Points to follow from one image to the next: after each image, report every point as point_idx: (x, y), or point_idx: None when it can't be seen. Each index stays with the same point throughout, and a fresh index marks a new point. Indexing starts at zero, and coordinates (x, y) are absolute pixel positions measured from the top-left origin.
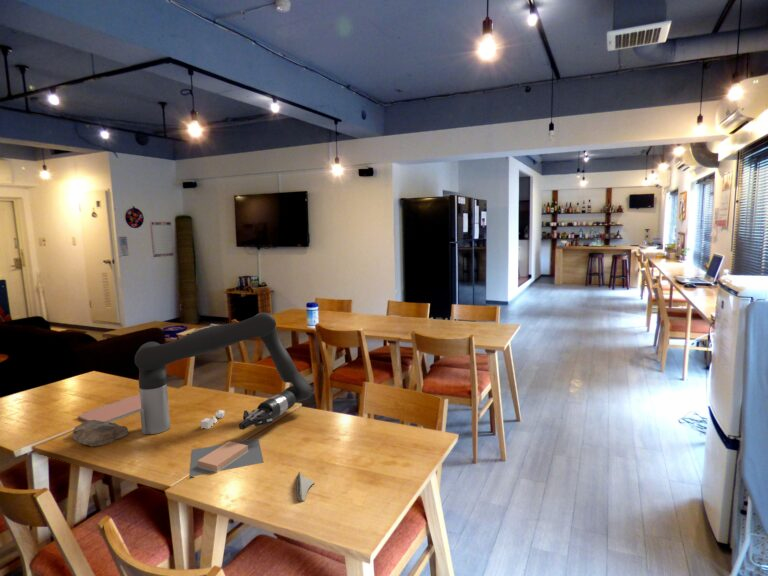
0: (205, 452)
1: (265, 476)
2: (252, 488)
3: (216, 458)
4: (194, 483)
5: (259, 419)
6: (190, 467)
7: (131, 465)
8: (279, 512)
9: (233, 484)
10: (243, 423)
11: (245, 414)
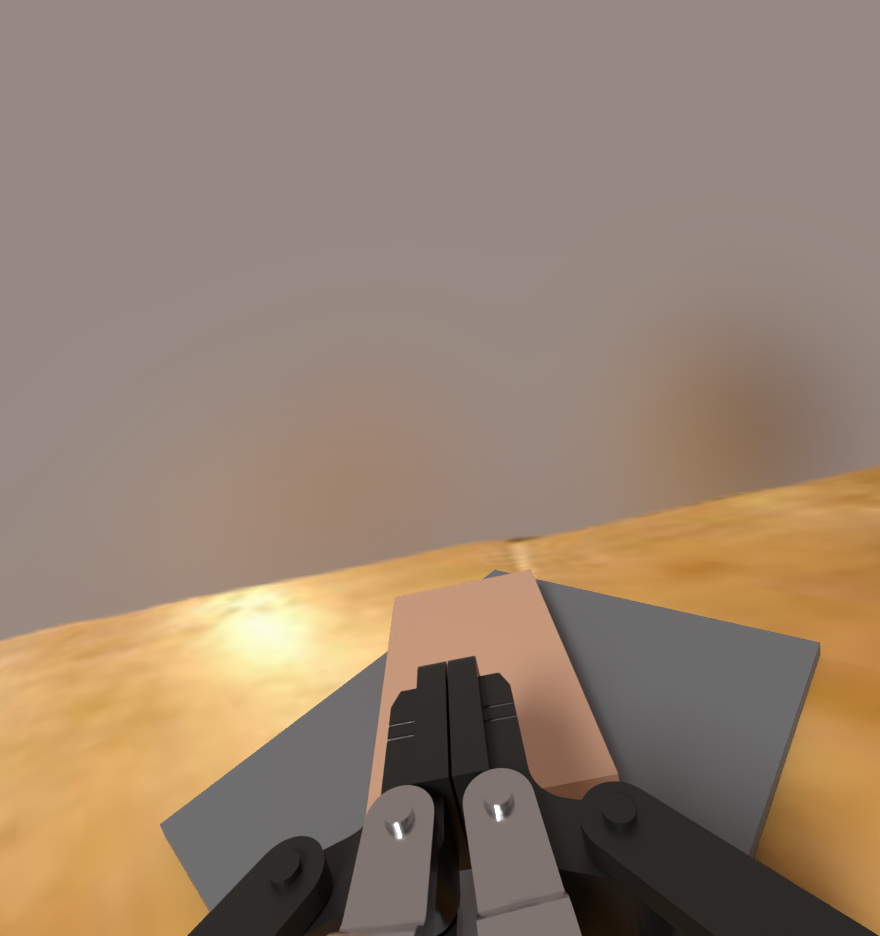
0: (690, 675)
1: (124, 750)
2: (175, 670)
3: (455, 617)
4: (446, 579)
5: (219, 915)
6: (566, 586)
7: (826, 499)
8: (35, 655)
9: (278, 644)
10: (417, 676)
11: (738, 909)
